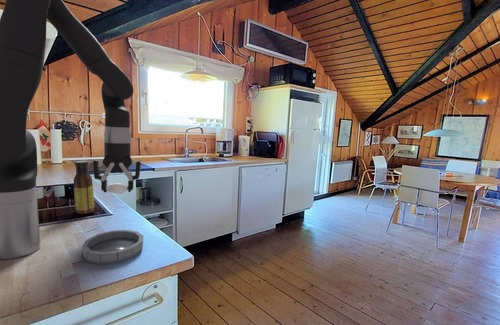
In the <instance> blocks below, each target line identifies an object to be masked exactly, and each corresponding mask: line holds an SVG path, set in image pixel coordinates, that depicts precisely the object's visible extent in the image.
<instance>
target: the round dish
mask: <svg viewBox="0 0 500 325" xmlns="http://www.w3.org/2000/svg"><path fill="white" fill-rule="evenodd" d="M143 248H144V235H143V234H142V233H140V232H139V231H137V230H131V229H118V230H109V231H106V232H101V233H98V234H95V235H93V236H92V237H89V238H88V239H86V240H85V241H84V242H83V244H82V245H81V250H82V251H81V252H82V255H83V259H84V260H85V261H86V262H88V263H90V264H95V265H109V264H117V263H121V262H124V261H128V260H129V259H133V258H134V257H135V256H137V255H138V254H140V253H141V252H142V250H143Z"/></svg>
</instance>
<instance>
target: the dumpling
mask: <svg viewBox="0 0 500 325" xmlns="http://www.w3.org/2000/svg"><path fill="white" fill-rule="evenodd" d="M106 190H107V192H108V193H112V194H118V195H122V194H124V193H125V192H128V185H127V184H124V183H119V182H116V183H115V182H114V183H111V184H108V185H107V187H106Z"/></svg>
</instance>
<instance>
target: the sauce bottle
mask: <svg viewBox="0 0 500 325" xmlns="http://www.w3.org/2000/svg"><path fill="white" fill-rule="evenodd" d="M74 165H75V171H76V172H75V175H74V178H73V193H74V194H73V196H74V203H75V204H74V205H75V210H76V213H77V214H79V215H84V214H91V213H93V212H94V211H95V204H96V203H95V194H94V184H93V177H92V176H91V175H90V173H89V168H88V166H89V162H88V160H77V161H75V162H74Z"/></svg>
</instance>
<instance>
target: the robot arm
mask: <svg viewBox="0 0 500 325" xmlns="http://www.w3.org/2000/svg"><path fill="white" fill-rule="evenodd" d="M47 20H48V22H49V23H50V24H51V25H52V26H53V28H55V30H56V31H57V32H58V33H59V35H60V36H61V37H62V39H63V40H64V41H65V42H66V43H67V45H68V46H69V47H70V49H71V50H72V51H73V53H74V54H75V55H76V56H77V57H78V58H79V60H80V61H81V63H82V64H83V65H84V66H85V68H86V69H87V70H88V72H90V73H91V74H92V75H95V76H97V77H98V78H99V79H100V80H101V81H102V84H101V98H102V100H101V101H102V104H103V108H104V134H103V137H104V140H103V144H104V145H103V146H104V149H103V150H104V152H103V153H104V154H103V156H104V158H103V159H94V160H93V161H92V166H93V167H92V168H93V175H94V176H93V178H94V179H95V180H99V181H100V185H101V187H100V188H101V191H103V193H108V191H107V190H106V187H107V186H108V180H107V179H108V177H109V175H110V174H111V173H113V174H115V173H120V174H121V173H124V176H126V177H127V179H128V181H127V186H128V190H127V192H128V193H131V192H132V191H133V190H134V181H135V180H139V179H140V174H141V163H142V162H141V160H132V158H131V157H132V156H131V153H132V151H131V148H132V146H131V144H132V143H131V142H132V139H131V127H130V126H131V115H130V111H129V110H128V109H126V104H125V103H126V102H125V101H126V100H129V99H131V97H133V94H134V91H135V90H134V85H133V83H132V81H131V80H130V78H129V77H128V75H127V74H126V73H125V72H124V71H123V70H122V69H121V68H120V67H119V66H118V65H117V64H116V63H115V62H114V61H113V60H112V59H111V57H110V56H109V54H108V53H107V52H106V50H105V49H104V47H103V46H102V44H101V43H100V42H99V41H98V39H97V38H96V37H95V35H93V34H92V33H91V31H90V30H89V29H88V28H87V27H86V26H85V25H84V24H83V23H82V22H81V21H80V20H79V19H78V18H77V17H76V16H75V15H74V14H73V13H72V11H71V10H70V9H69V8H68V6H67V5H66V4H65V2H64V1H63V0H5V3H4V8H3V10H2V13H1V16H0V260H8V259H16V258H21V257H25V256H27V255H30V254H33V253H35V252H36V251H38V250H39V249H40V247H41V236H40V221H39V220H40V219H39V208H38V207H39V206H38V194H37V192H38V191H37V176H38V149H37V141H36V139H35V137H34V135H33V134H32V133H31V131H29V130H27V121H28V120H27V119H28V112H29V108H30V106H31V103H32V101H33V99H34V97H35V95H36V93H37V91H38V88H39V86H40V83H41V80H42V77H43V73H44V72H43V70H44V63H45V59H46V58H45V57H46V55H45V54H46V44H47V43H46V42H47ZM102 164H103V165H104V167H105V168H106V170H105V171H104V173H103V175H102V174H101V168H100V167H102ZM131 165H133V168H135V171H134V173H135V174H134V175H133V174H132V172H131V170H130V166H131Z"/></svg>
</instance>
